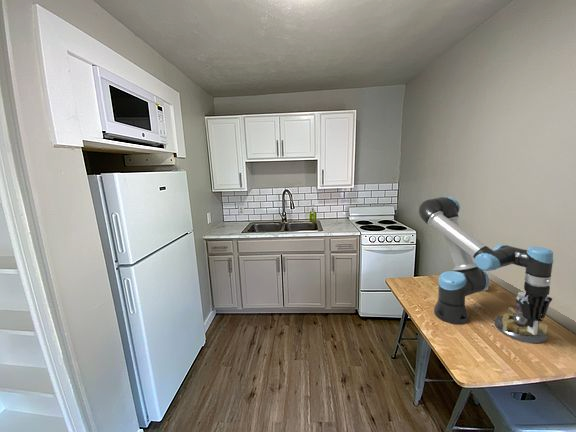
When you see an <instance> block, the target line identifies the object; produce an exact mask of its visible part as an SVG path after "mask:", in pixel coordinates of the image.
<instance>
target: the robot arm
mask: <svg viewBox="0 0 576 432" xmlns="http://www.w3.org/2000/svg"><path fill="white" fill-rule="evenodd" d="M460 206H461V205H460V203H459V201H458V200H457V199H455V198H453V197H451V196H441V197H436V198H430V199H426V200H424V201H423V202H421V204H419V206H418V214H419V217H420V218H421V220H422V221H423V222H424V223H425V224H426V225H428V227H429V226H430V227H433V228H434V229H436V230H437V231H438V232H440V233H441V234H442V235H443V237H444V240H445V242H446V245H447V247H448V250H449V253H450V256H451V258H452V261H453V264H454V268H453V270H452V271H450V270H447V271H444V272H442V273H440V274H439V276H438V277H439V278H438V299H437V301H436V303H435V305H434V309H433V314H434V315H435V317H437V318H438V319H439V320H440V321H443V322H446V323H448V324H452V325H463V324H467V322H468V321H469V313H468V311H467V307H466V305H465V304H466V297H467V296H470V295H473V294H475V293H480V292H482V291H485V290H484V289H486V288H487V287H488V288H489V285H490V278H489V276H488V274H487V272H491V271H496V270H498V269H500V268H503V267H507V266H511V265H515V266H519V267H522V268H525V273H524V285H523V289H524V292H525V293H526V294H525V298H523V299H519V302H520V303H521V308H522V313H521V314H523V317H524V318H526V319H527V320H528V321H527V325H528V329H527V331H528V332H530V333H532V334H533V335H536V334H537V329H538V325H539V323H541V322H543V320H544V319H545V318H546V316H547V312H548V309H549V306H550V304H551V302H552V301H553V298H552V297H550V296H549V294H550V289H551V286H550V285H551V278H552V272H553V264H554V251H552V250H551V249H549V248H546V247H543V246H529V247H528V248H527V249H523V248H519V247H516V246H511V245H508V244H506V245H505V244H497V245H495V247H493V248H490V247H489V246H487V245H486V244H484V243H483V242H481V240H479V239H477V238H476V237H475V236H473V235H471V233H469V232H468V231H466V230H464V229H463V227H461V226H460V225H459V223H458V222H459V221H458V219H459V217H460V216H459V214H458V213H460V210H461V207H460Z"/></svg>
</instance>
